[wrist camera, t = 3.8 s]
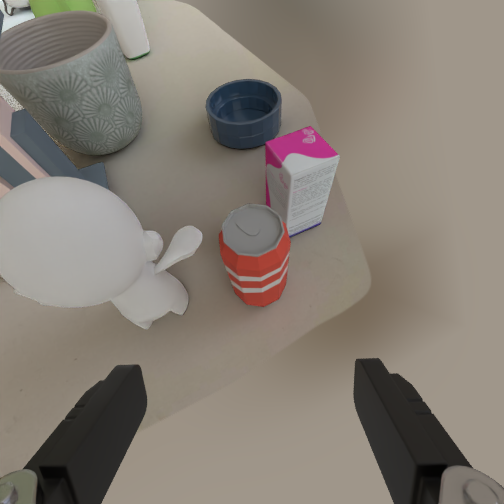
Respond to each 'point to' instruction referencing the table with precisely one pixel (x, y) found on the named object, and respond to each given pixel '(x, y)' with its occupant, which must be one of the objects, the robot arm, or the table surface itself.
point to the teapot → (59, 6)
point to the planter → (72, 80)
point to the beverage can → (255, 253)
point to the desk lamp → (34, 151)
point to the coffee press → (15, 4)
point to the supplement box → (299, 178)
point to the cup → (126, 26)
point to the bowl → (244, 113)
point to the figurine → (88, 250)
